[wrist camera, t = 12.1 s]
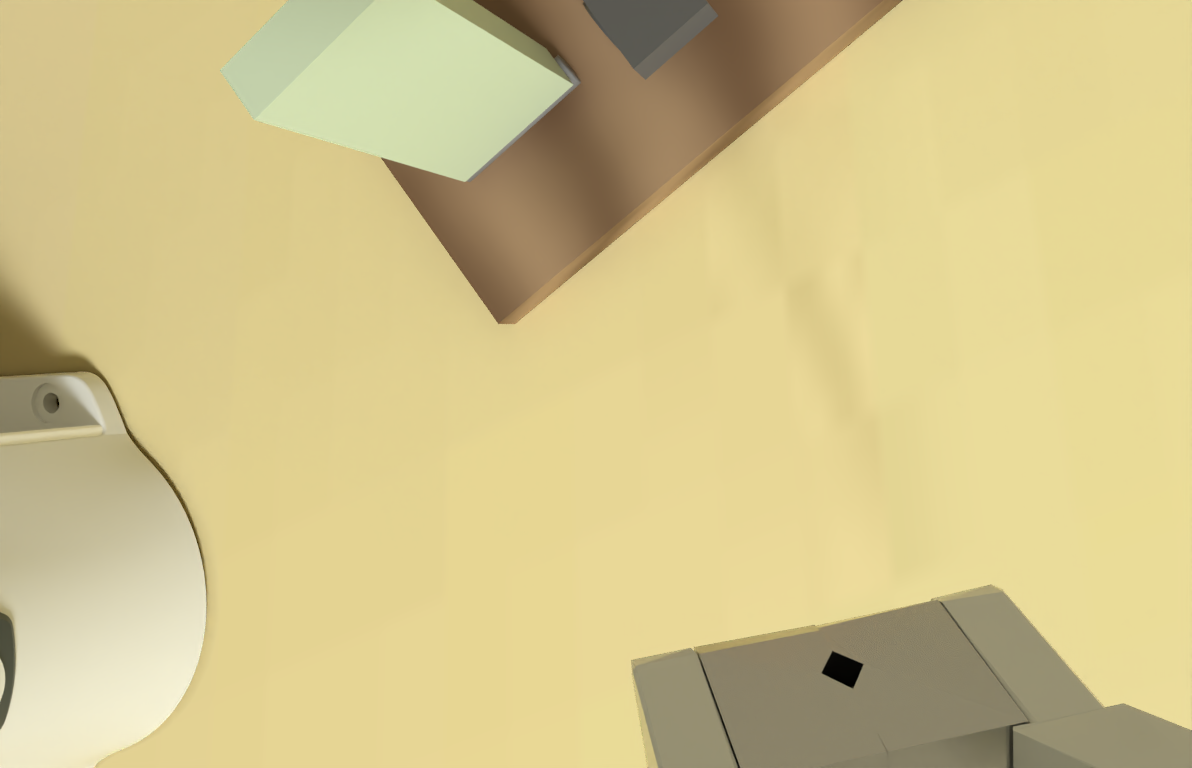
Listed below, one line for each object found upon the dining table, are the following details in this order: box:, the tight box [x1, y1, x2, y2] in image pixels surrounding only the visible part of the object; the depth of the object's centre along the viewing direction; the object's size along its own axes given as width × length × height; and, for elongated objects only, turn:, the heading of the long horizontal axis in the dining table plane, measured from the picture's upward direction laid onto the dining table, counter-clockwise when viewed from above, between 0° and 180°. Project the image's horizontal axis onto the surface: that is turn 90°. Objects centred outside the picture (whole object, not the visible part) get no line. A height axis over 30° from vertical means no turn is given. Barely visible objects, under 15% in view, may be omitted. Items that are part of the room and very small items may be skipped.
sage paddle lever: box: [220, 0, 581, 182], centre depth 34 cm, size 5×2×13 cm, turn 127°
